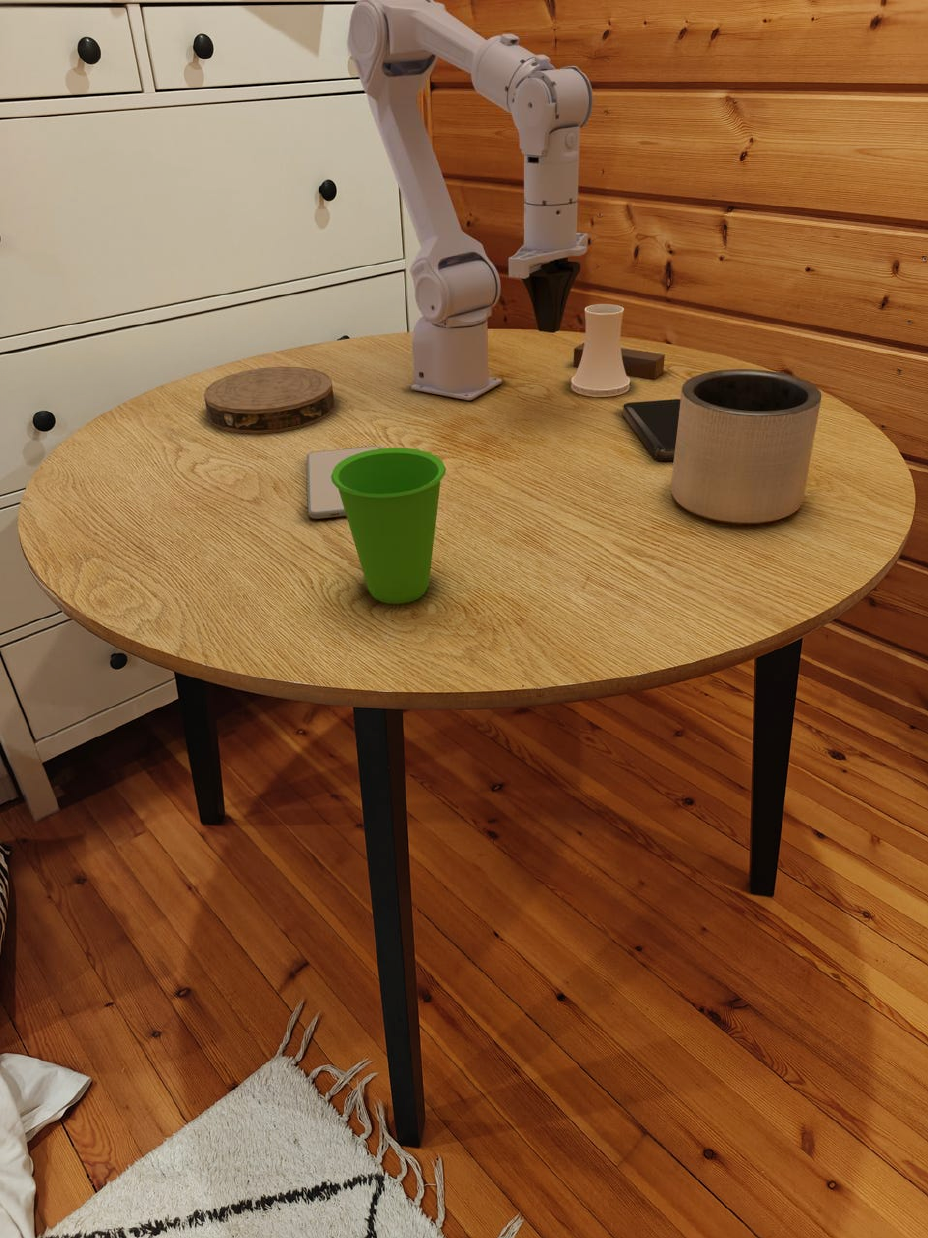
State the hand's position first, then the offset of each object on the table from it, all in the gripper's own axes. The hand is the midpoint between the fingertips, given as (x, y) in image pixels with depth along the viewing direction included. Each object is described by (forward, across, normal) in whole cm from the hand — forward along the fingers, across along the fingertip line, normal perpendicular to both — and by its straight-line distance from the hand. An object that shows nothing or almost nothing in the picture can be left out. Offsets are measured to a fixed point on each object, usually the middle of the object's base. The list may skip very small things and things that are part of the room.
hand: (548, 330), depth 103 cm
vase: (+11, +13, -1) cm, 16 cm away
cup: (+11, -41, -8) cm, 43 cm away
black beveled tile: (+10, +2, -15) cm, 18 cm away
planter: (+11, -11, -27) cm, 31 cm away
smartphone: (+10, -27, +9) cm, 30 cm away
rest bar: (+10, +20, 0) cm, 23 cm away
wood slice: (+10, -14, +32) cm, 36 cm away
